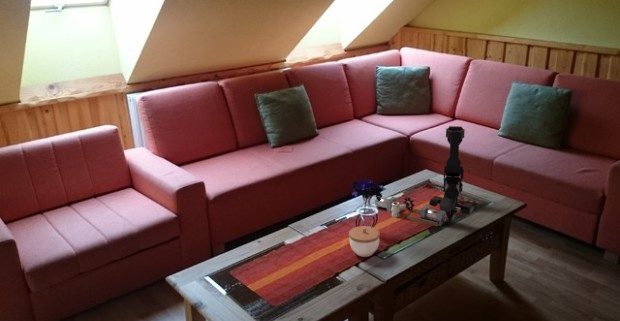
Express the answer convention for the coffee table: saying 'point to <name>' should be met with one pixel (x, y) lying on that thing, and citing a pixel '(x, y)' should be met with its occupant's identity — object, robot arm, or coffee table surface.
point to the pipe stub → (385, 203)
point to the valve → (401, 207)
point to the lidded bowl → (364, 240)
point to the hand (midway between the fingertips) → (450, 221)
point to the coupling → (433, 215)
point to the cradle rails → (421, 219)
